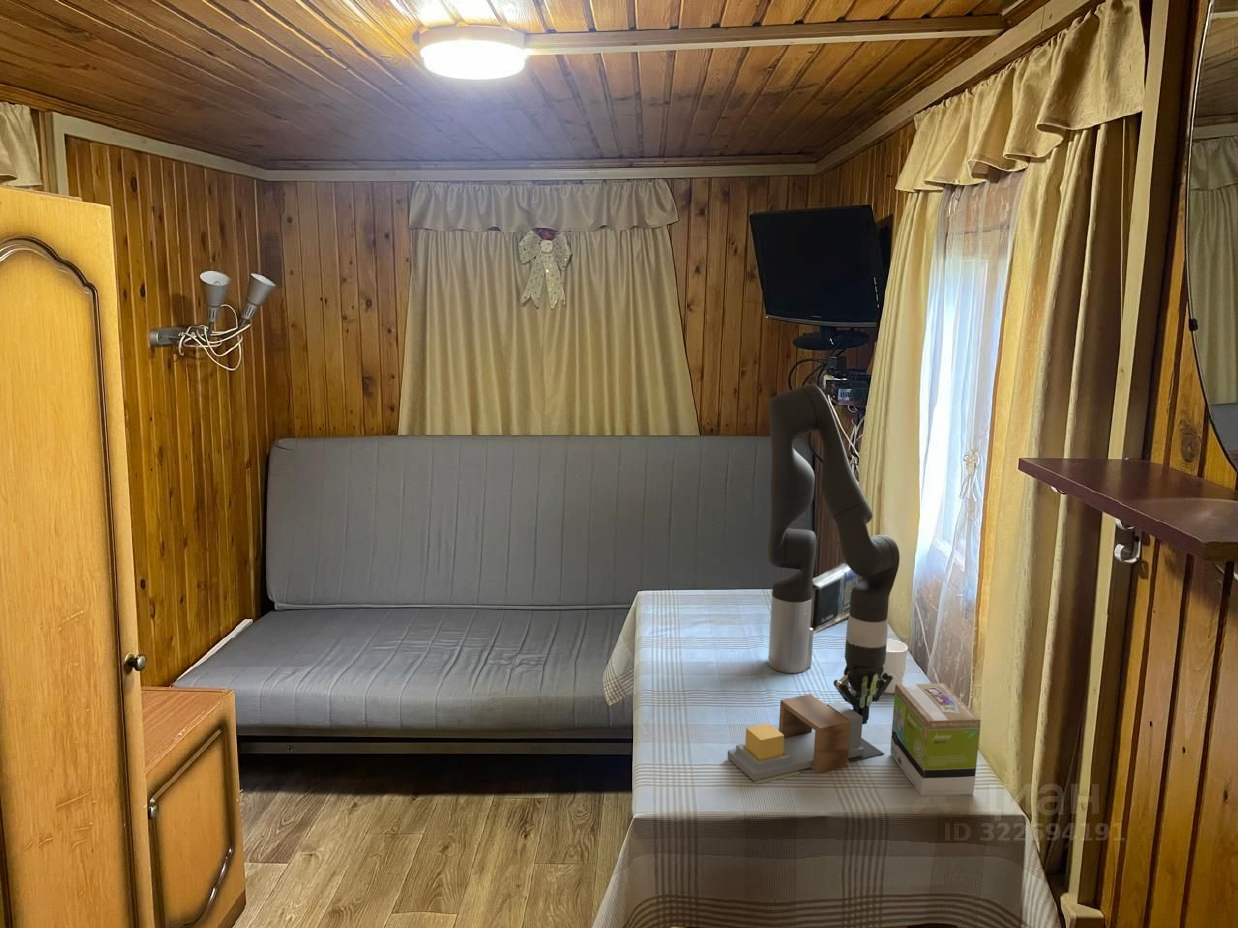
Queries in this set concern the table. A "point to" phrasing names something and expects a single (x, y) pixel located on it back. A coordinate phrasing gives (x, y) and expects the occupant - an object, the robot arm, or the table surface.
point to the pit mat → (866, 751)
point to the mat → (775, 777)
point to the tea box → (935, 739)
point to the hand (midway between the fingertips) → (859, 722)
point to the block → (764, 742)
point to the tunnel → (817, 730)
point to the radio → (832, 597)
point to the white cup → (895, 663)
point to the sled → (796, 750)
